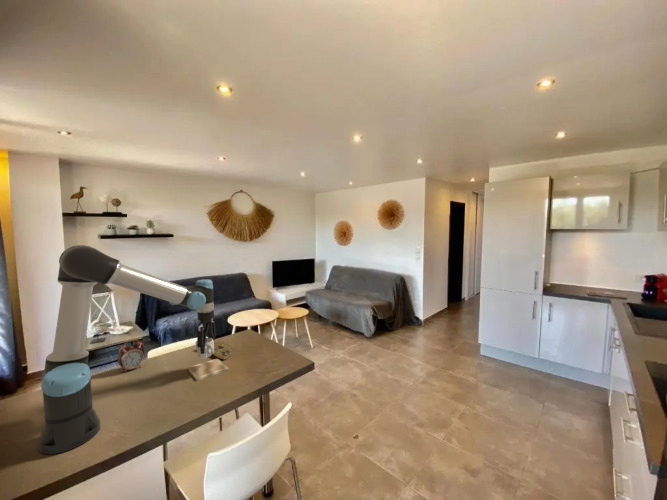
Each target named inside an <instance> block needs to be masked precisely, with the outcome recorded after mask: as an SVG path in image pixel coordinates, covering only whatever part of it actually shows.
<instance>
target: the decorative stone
mask: <svg viewBox="0 0 667 500" xmlns="http://www.w3.org/2000/svg"><path fill="white" fill-rule="evenodd" d="M234 347H235V345H234V344H232V343H228V342H225V341H223V340H222V341H221V340H214V353H213V354H212V355H213V356H214V357H216V359H217V358H218V359H219V360H226V359H228V358H229V357H230V356H231V355H232V353H233V349H234Z"/></svg>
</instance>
